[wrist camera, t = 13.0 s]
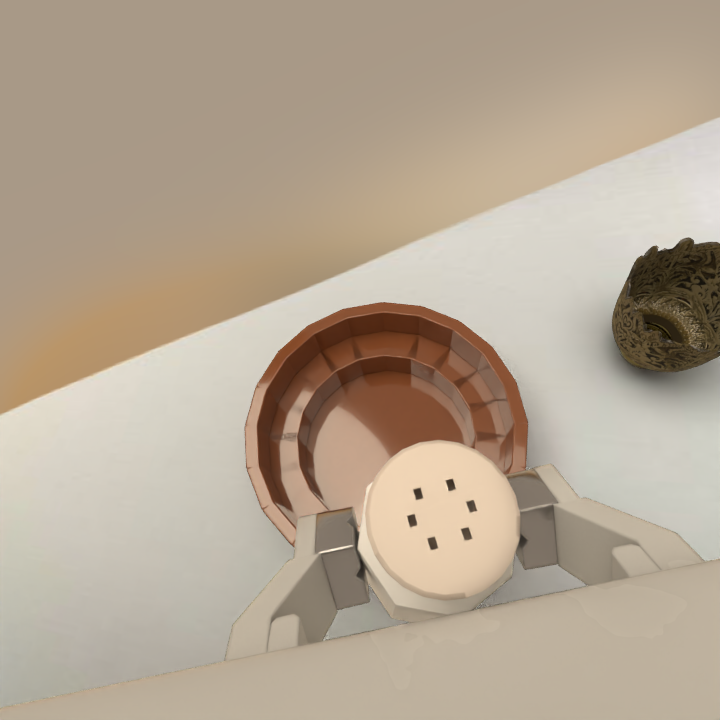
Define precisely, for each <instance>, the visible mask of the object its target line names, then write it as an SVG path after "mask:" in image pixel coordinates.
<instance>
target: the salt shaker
mask: <svg viewBox="0 0 720 720" xmlns="http://www.w3.org/2000/svg"><path fill="white" fill-rule="evenodd" d="M519 539H520V512H519V508H518V503H517V499H516V495H515V493H514V491H513V489H512V487H511V486H510V484H509V482H508V480H507V478H506V476H505V475H504V474H503V473H502V472H501V470H500V469H499V468H498V467H497V466H496V465H495V464H494V462H493V461H491V460H490V459H489V458H487V457H486V456H484V455H483V454H482V453H480V452H479V451H477V450H476V449H473V448H471V447H468V446H466V445H463V444H461V443H458V442H451V441H443V440H434V441H427V442H419V443H417V444H415V445H412V446H410V447H407V448H405V449H402V450H401V451H400V452H398V453H397V454H396V455H394V456H393V457H392V458H390V459H389V460H388V461H387V462H386V463H385V464H384V466H383V467H382V468H381V470H380V471H379V472H378V473H377V475H376V476H375V479H374V481H373V482H372V483H371V484H369V485H368V486H367V488H366V495H365V500H364V506H363V513H362V519H361V526H360V533H359V539H358V546H357V551H358V554H359V556H360V559H361V560H362V562H363V564H364V566H365V568H366V570H365V572H366V576H367V580H368V583H369V585H370V586H371V588H372V589H373V591H374V592H375V594H376V595H377V597H378V598H379V600H380V601H381V603H382V604H383V606H384V607H385V609H386V610H387V612H388V613H389V615H390V616H391V618H392V619H397V620H403V621H408V622H416V621H421V620H426V619H431V618H435V617H440V616H445V615H450V614H455V613H460V612H464V611H469V610H473V609H474V608H476V607H477V606H478V605H479V604H480V603H482V602H483V601H484V600H485V599H486V598H487V597H489V596H490V595H491V594H492V593H493V592H495V591H496V590H497V589H498V588H499V587H501V586H502V585H503V584H504V583H505V582H507V581H508V580H509V579H510V578H511V577H512V573H513V562H514V555H515V552H516V549H517V546H518V542H519Z"/></svg>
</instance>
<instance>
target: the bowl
mask: <svg viewBox="0 0 720 720" xmlns="http://www.w3.org/2000/svg"><path fill="white" fill-rule="evenodd" d="M527 438H528V421H527V417H526V414H525V410H524V407H523V404H522V400H521V397H520V393H519V390H518V386H517V383H516V381H515V379H514V378H513V376H512V375H511V373H510V372H509V370H508V369H507V368H506V366H505V365H504V363H503V362H502V360H501V359H500V357H499V356H498V354H497V353H496V351H495V350H494V349H493V347H492V346H491V345H489V344H488V343H487V342H486V341H484V340H483V339H482V338H481V337H479V336H478V335H477V334H475V333H474V332H473V331H472V330H470V329H469V328H468V327H467V326H465V325H464V324H463V323H462V322H459V321H458V320H456V319H453V318H451V317H448V316H446V315H443V314H441V313H438V312H436V311H433V310H431V309H428V308H426V307H422V306H415V305H406V304H396V303H386V302H383V303H382V302H380V303H375V304H369V305H363V306H357V307H352V308H346V309H342V310H340V311H338V312H336V313H334V314H331V315H329V316H327V317H325V318H323V319H321V320H319V321H317V322H315V323H312V324H310V325H308V326H307V327H306V328H305V329H303V330H302V331H301V332H300V333H299V334H298V335H297V336H295V337H294V338H293V339H292V340H291V341H290V342H289V343H287V344H286V345H285V346H284V347H283V348H282V349H280V350H279V351H278V353H277V354H276V356H275V357H274V359H273V360H272V362H271V364H270V365H269V367H268V368H267V370H266V371H265V373H264V375H263V376H262V378H261V379H260V381H259V382H258V384H257V387H256V388H255V392H254V395H253V399H252V403H251V406H250V410H249V413H248V417H247V420H246V424H245V448H246V468H247V472H248V474H249V477H250V479H251V482H252V485H253V487H254V490H255V493H256V495H257V498H258V501H259V503H260V506H261V509H262V510H263V512H264V513H265V514H266V516H267V517H268V518H269V519H270V520H271V522H272V523H273V524H274V525H275V526H276V528H277V529H278V530H279V531H280V532H281V534H282V535H283V536H284V537H285V538H286V540H287V541H288V542H289V543H290V544H291V545H292V546H293V547H294V548H295V540H296V530H297V520H298V519H299V517H302V516H307V515H311V514H317V513H321V512H327V511H332V510H337V509H343V508H348V507H353V508H354V511H355V515H356V518H357V527H358V531H359V532H360V526H361V519H362V513H363V506H364V500H365V495H366V488H367V486H368V485H369V484H371V483H372V482H373V481H374V479H375V476H376V475H377V473H378V472H379V471H380V470H381V468H382V467H383V466H384V464H385V463H386V462H387V461H388V460H389V459H390V458H392V457H393V456H394V455H396V454H397V453H398V452H400V451H401V450H402V449H405V448H407V447H410V446H412V445H415V444H417V443H419V442H427V441H434V440H443V441H451V442H458V443H461V444H463V445H466V446H468V447H471V448H473V449H476V450H477V451H479V452H480V453H482V454H483V455H484V456H486V457H487V458H489V459H490V460H491V461H493V462H494V464H495V465H496V466H497V467H498V468H499V469H500V470H501V472H502V473H503V474H504V475H506V474H510V473H515V472H519V471H524V470H526V469H525V468H526V459H527Z"/></svg>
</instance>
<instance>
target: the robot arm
mask: <svg viewBox="0 0 720 720" xmlns="http://www.w3.org/2000/svg"><path fill="white" fill-rule="evenodd" d="M505 476H506V478H507V480H508V482H509V484H510V486H511V487H512V489H513V491H514V493H515V495H516V499H517V503H518V508H519V512H520V539H519V542H518V546H517V549H516V554H517V556H518V558H519V560H520V562H521V564H522V566H523V568H524V570H528V569H533V568H539V567H545V566H550V565H556V564H558V566H560V567H561V568H563V569H564V570H566V571H567V572H569V573H570V574H572V575H573V576H575V577H576V578H578V579H579V580H581V581H582V582H584V583H585V584H587V585H588V586H585V587H580V588H575V589H570V590H565V591H561V592H556V593H551V594H546V595H541V596H537V597H532V598H527V599H522V600H517V601H513V602H508V603H503V604H498V605H493V606H488V607H484V608H479V609H474V610H469V611H464V612H460V613H455V614H450V615H445V616H440V617H435V618H431V619H426V620H421V621H416V622H411V623H406V624H402V625H397V626H392V627H387V628H382V629H378V630H373V631H368V632H363V633H358V634H353V635H349V636H344V637H339V638H334V639H329V640H324V641H323V639H324V637H325V635H326V633H327V631H328V629H329V627H330V625H331V624H332V622H333V620H334V618H335V616H336V614H337V612H338V611H337V610H340V609H344V608H348V607H352V606H356V605H361V604H365V603H369V602H370V600H369V588H368V580H367V576H366V572H365V570H366V568H365V566H364V564H363V562H362V560H361V559H360V556H359V554H358V551H357V546H358V539H359V533H360V532H359V531H358V527H357V518H356V515H355V511H354V508H353V507H348V508H343V509H337V510H332V511H327V512H321V513H317V514H311V515H307V516H302V517H299V519H298V520H297V530H296V540H295V550H294V559H291V560H288V561H287V562H286V563H285V565H284V566H283V567H282V568H281V569H280V570H279V572H278V573H277V574H276V575H275V576H274V577H273V579H272V580H271V581H270V582H269V583H268V584H267V586H266V587H265V588H264V589H263V590H262V591H261V592H260V594H259V595H258V596H257V597H256V598H255V599H254V601H253V602H252V603H251V604H250V605H249V606H248V608H247V609H246V610H245V611H244V612H243V613H242V615H241V616H240V617H239V618H238V619H237V620H236V621H235V623H234V624H233V625H232V629H231V633H230V638H229V642H228V647H227V651H226V655H225V660H224V661H223V662H218V663H214V664H209V665H204V666H199V667H194V668H189V669H185V670H180V671H175V672H170V673H165V674H161V675H156V676H151V677H146V678H141V679H136V680H132V681H127V682H122V683H117V684H112V685H108V686H103V687H98V688H93V689H88V690H83V691H79V692H74V693H69V694H64V695H59V696H55V697H50V698H45V699H40V700H35V701H30V702H26V703H21V704H16V705H11V706H6V707H2V708H0V720H720V559H715V560H710V561H704V560H703V559H702V558H701V557H700V556H699V555H698V554H697V553H696V552H695V551H694V550H693V549H692V548H691V547H690V546H689V545H688V544H687V543H686V542H685V541H684V540H683V539H682V538H681V537H680V536H679V535H678V534H677V533H676V532H673V531H670V530H668V529H665V528H663V527H660V526H658V525H655V524H652V523H650V522H647V521H645V520H642V519H640V518H637V517H634V516H632V515H629V514H627V513H624V512H622V511H619V510H616V509H614V508H611V507H609V506H606V505H604V504H601V503H598V502H596V501H593V500H591V499H588V498H581V499H580V498H579V496H578V495H577V494H576V493H575V491H574V490H573V489H572V488H571V487H570V485H569V484H568V483H567V482H566V480H565V479H564V478H563V477H562V475H561V474H560V473H559V472H558V470H557V469H556V468H555V467H554V465H552V464H547V465H543V466H539V467H535V468H532V469H529V470H524V471H519V472H515V473H510V474H506V475H505Z"/></svg>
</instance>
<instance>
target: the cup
mask: <svg viewBox="0 0 720 720" xmlns="http://www.w3.org/2000/svg"><path fill="white" fill-rule="evenodd" d="M658 248H659V247H658V246H653V247H651V248H650V249H649V250H648V251H647V252H646V253H645V255H644V256H640V257H639V258H638V259H637V260H636V261H635V263H634V265H633V267H632V269H631V271H630V274H629V276H628V278H627V280H626V282H625V285H624V287H623V289H622V291H621V293H620V296H619V298H618V300H617V303H616V306H615V309H614V312H613V318H612V329H613V334H614V338H615V341H616V343H617V344H618V346H619V350H620V352H621V354H622V356H623V357H624V358H625V359H626V360H627V361H628V362H629V363H630V364H632V365H634V366H636V367H639V368H643V369H651V370H655V371H661V372H677V371H683V370H687V369H691V368H694V367H697V366H699V365H702V364H704V363H706V362H709V361H711V360H713V359H715V358H717V357H719V356H720V244H719V243H718V242H705V243H700V244H694V240H693V239H691V238H684V239H682V240H680V241H679V243H678V244H677V245H676V246H675V247H674V248H672V249H666V248H664V249H663V250H661V251H658Z"/></svg>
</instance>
